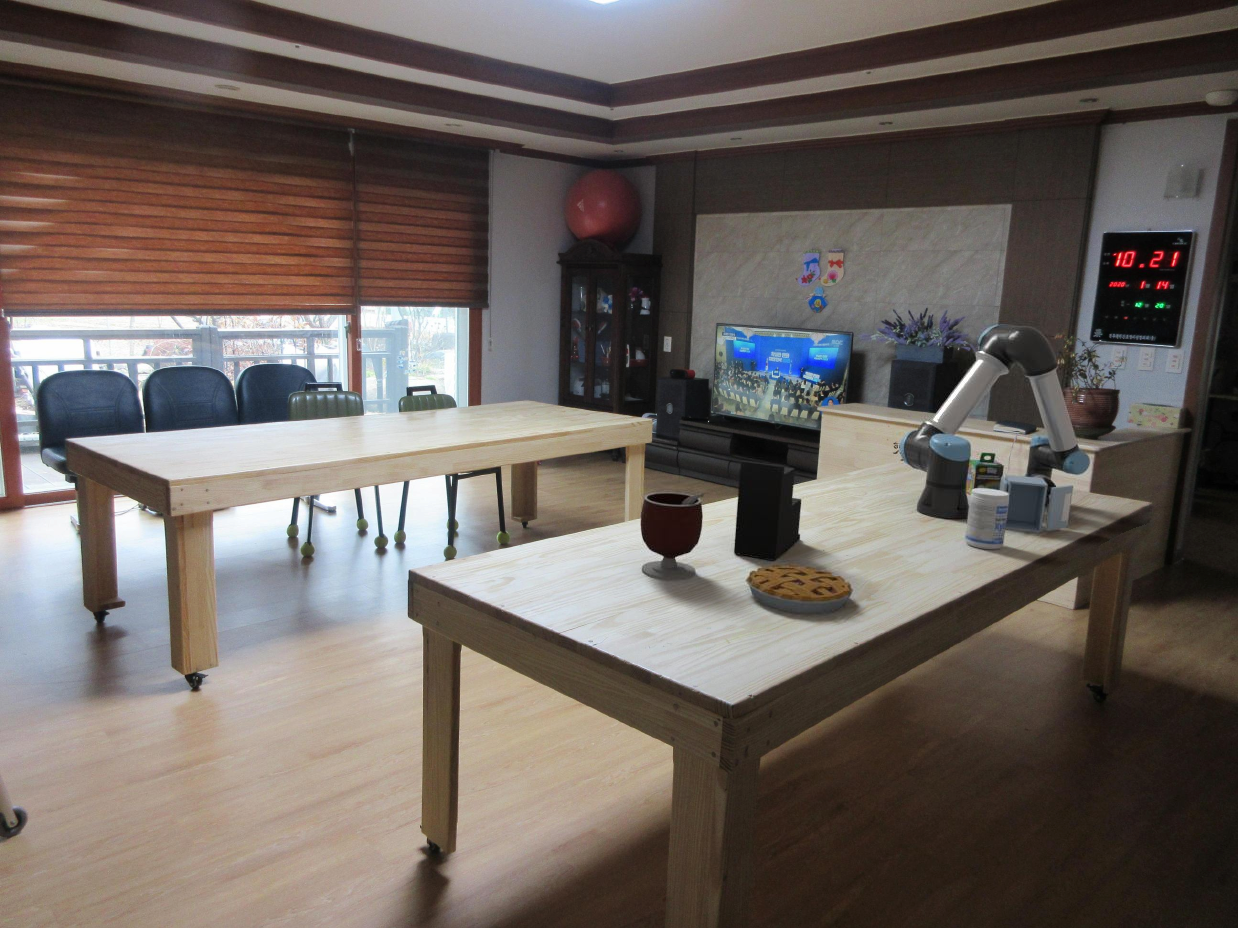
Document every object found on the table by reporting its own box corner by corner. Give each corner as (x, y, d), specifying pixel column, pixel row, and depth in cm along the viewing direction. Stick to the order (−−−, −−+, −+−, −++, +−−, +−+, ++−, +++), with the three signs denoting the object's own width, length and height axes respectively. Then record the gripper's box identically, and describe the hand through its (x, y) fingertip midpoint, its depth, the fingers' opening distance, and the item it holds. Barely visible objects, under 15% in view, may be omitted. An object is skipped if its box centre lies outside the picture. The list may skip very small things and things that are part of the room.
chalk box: (992, 493, 303) (997, 450, 300) (1000, 499, 294) (1006, 455, 291) (964, 491, 304) (969, 449, 301) (972, 497, 295) (977, 453, 292)
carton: (998, 528, 255) (1005, 480, 253) (995, 520, 265) (1001, 474, 262) (1040, 532, 252) (1047, 484, 250) (1035, 524, 262) (1042, 478, 259)
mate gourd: (625, 569, 202) (629, 484, 198) (666, 558, 212) (671, 476, 208) (676, 587, 191) (681, 497, 187) (717, 575, 201) (723, 489, 197)
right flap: (1048, 530, 252) (1054, 488, 249) (1045, 530, 252) (1051, 487, 250) (1067, 527, 257) (1073, 485, 254) (1064, 526, 257) (1070, 484, 255)
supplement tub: (1000, 552, 230) (1007, 497, 227) (961, 546, 235) (968, 492, 232) (1004, 544, 238) (1012, 491, 236) (967, 538, 243) (974, 485, 240)
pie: (800, 624, 174) (802, 600, 173) (724, 591, 191) (726, 569, 190) (872, 605, 186) (874, 583, 185) (795, 576, 204) (796, 555, 203)
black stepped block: (761, 533, 238) (768, 447, 234) (800, 540, 234) (808, 452, 229) (732, 555, 218) (739, 461, 213) (775, 562, 213) (783, 466, 208)
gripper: (1063, 502, 281) (1077, 519, 259) (1018, 497, 285) (1029, 514, 263) (1066, 479, 280) (1081, 494, 258) (1021, 475, 283) (1032, 489, 261)
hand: (1054, 504), depth 260 cm, fingers closed
